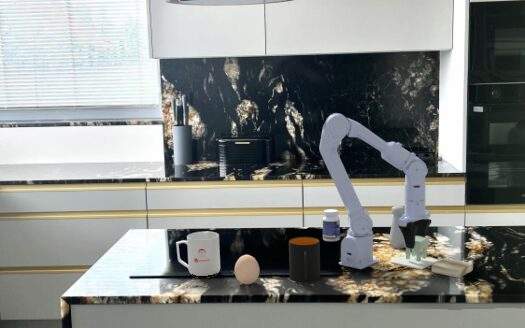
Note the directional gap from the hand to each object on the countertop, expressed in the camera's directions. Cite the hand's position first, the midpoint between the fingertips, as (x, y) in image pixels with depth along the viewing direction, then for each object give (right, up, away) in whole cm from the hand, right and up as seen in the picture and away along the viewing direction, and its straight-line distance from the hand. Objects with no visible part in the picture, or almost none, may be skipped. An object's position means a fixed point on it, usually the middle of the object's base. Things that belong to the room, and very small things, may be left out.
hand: (414, 245), depth 171 cm
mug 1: (-62, -8, -3) cm, 62 cm away
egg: (-48, -9, -13) cm, 50 cm away
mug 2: (-32, -8, -11) cm, 35 cm away
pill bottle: (-21, -2, +28) cm, 35 cm away
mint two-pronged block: (0, -4, 0) cm, 4 cm away
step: (+8, -6, -8) cm, 13 cm away
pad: (0, -5, +1) cm, 5 cm away
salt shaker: (-1, -3, +17) cm, 17 cm away
